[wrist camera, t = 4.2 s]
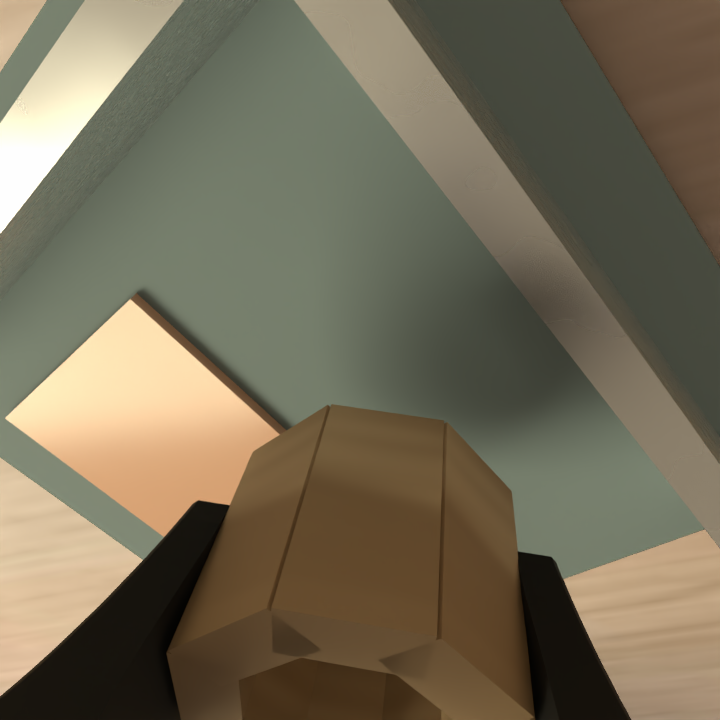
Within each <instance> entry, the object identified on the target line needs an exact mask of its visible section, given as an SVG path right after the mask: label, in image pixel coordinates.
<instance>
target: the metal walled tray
mask: <svg viewBox="0 0 720 720" xmlns="http://www.w3.org/2000/svg"><path fill="white" fill-rule="evenodd" d="M259 1H260V0H85V1H84V2H83V4H82V5H81V7H80V8H79V9H78V11H77V12H76V14H75V15H74V17H73V18H72V20H71V21H70V23H69V24H68V25H67V27H66V28H65V30H64V31H63V33H62V34H61V36H60V37H59V39H58V40H57V41H56V43H55V44H54V46H53V47H52V49H51V50H50V52H49V53H48V55H47V56H46V57H45V59H44V60H43V62H42V63H41V65H40V66H39V68H38V69H37V71H36V72H35V73H34V75H33V76H32V78H31V79H30V81H29V82H28V84H27V85H26V87H25V88H24V89H23V91H22V92H21V94H20V95H19V97H18V98H17V100H16V101H15V103H14V104H13V105H12V107H11V108H10V110H9V111H8V113H7V114H6V116H5V117H4V119H3V120H2V121H1V123H0V300H1V299H2V298H3V296H4V295H5V294H6V293H7V292H8V291H9V289H10V288H11V287H12V286H13V285H14V284H15V283H16V281H17V280H18V279H19V278H20V277H21V276H22V274H23V273H24V272H25V271H26V270H27V269H28V268H29V266H30V265H31V264H32V263H33V262H34V261H35V259H36V258H37V257H38V256H39V255H40V254H41V252H42V251H43V250H44V249H45V248H46V247H47V246H48V244H49V243H50V242H51V241H52V240H53V239H54V237H55V236H56V235H57V234H58V233H59V232H60V231H61V229H62V228H63V227H64V226H65V225H66V224H67V222H68V221H69V220H70V219H71V218H72V217H73V216H74V214H75V213H76V212H77V211H78V210H79V209H80V207H81V206H82V205H83V204H84V203H85V202H86V200H87V199H88V198H89V197H90V196H91V195H92V194H93V192H94V191H95V190H96V189H97V188H98V187H99V185H100V184H101V183H102V182H103V181H104V180H105V179H106V177H107V176H108V175H109V174H110V173H111V172H112V170H113V169H114V168H115V167H116V166H117V165H118V164H119V162H120V161H121V160H122V159H123V158H124V157H125V155H126V154H127V153H128V152H129V151H130V150H131V148H132V147H133V146H134V145H135V144H136V143H137V142H138V140H139V139H140V138H141V137H142V136H143V135H144V133H145V132H146V131H147V130H148V129H149V128H150V127H151V125H152V124H153V123H154V122H155V121H156V120H157V118H158V117H159V116H160V115H161V114H162V113H163V111H164V110H165V109H166V108H167V107H168V106H169V105H170V103H171V102H172V101H173V100H174V99H175V98H176V96H177V95H178V94H179V93H180V92H181V91H182V90H183V88H184V87H185V86H186V85H187V84H188V83H189V81H190V80H191V79H192V78H193V77H194V76H195V75H196V73H197V72H198V71H199V70H200V69H201V68H202V66H203V65H204V64H205V63H206V62H207V61H208V59H209V58H210V57H211V56H212V55H213V54H214V53H215V51H216V50H217V49H218V48H219V47H220V46H221V44H222V43H223V42H224V41H225V40H226V39H227V38H228V36H229V35H230V34H231V33H232V32H233V31H234V29H235V28H236V27H237V26H238V25H239V24H240V23H241V21H242V20H243V19H244V18H245V17H246V16H247V14H248V13H249V12H250V11H251V10H252V9H253V7H254V6H255V5H256V4H257V3H258V2H259ZM294 1H295V2H296V3H297V5H298V6H299V7H300V8H301V10H302V11H303V12H304V14H305V15H306V16H307V17H308V19H309V20H310V21H311V23H312V24H313V25H314V26H315V28H316V29H317V30H318V32H319V33H320V34H321V36H322V37H323V38H324V39H325V41H326V42H327V43H328V45H329V46H330V47H331V48H332V50H333V51H334V52H335V54H336V55H337V56H338V57H339V59H340V60H341V61H342V63H343V64H344V65H345V66H346V68H347V69H348V70H349V72H350V73H351V74H352V75H353V77H354V78H355V79H356V81H357V82H358V83H359V84H360V86H361V87H362V88H363V90H364V91H365V92H366V93H367V95H368V96H369V97H370V99H371V100H372V101H373V102H374V104H375V105H376V106H377V108H378V109H379V110H380V111H381V113H382V114H383V115H384V117H385V118H386V119H387V120H388V122H389V123H390V124H391V126H392V127H393V128H394V129H395V131H396V132H397V133H398V135H399V136H400V137H401V138H402V140H403V141H404V142H405V144H406V145H407V146H408V148H409V149H410V150H411V151H412V153H413V154H414V155H415V157H416V158H417V159H418V160H419V162H420V163H421V164H422V166H423V167H424V168H425V169H426V171H427V172H428V173H429V175H430V176H431V177H432V178H433V180H434V181H435V182H436V184H437V185H438V186H439V187H440V189H441V190H442V191H443V193H444V194H445V195H446V196H447V198H448V199H449V200H450V202H451V203H452V204H453V205H454V207H455V208H456V209H457V211H458V212H459V213H460V214H461V216H462V217H463V218H464V220H465V221H466V222H467V223H468V225H469V226H470V227H471V229H472V230H473V231H474V232H475V234H476V235H477V236H478V238H479V239H480V240H481V241H482V243H483V244H484V245H485V247H486V248H487V249H488V251H489V252H490V253H491V254H492V256H493V257H494V258H495V260H496V261H497V262H498V263H499V265H500V266H501V267H502V269H503V270H504V271H505V272H506V274H507V275H508V276H509V278H510V279H511V280H512V281H513V283H514V284H515V285H516V287H517V288H518V289H519V290H520V292H521V293H522V294H523V296H524V297H525V298H526V299H527V301H528V302H529V303H530V305H531V306H532V307H533V308H534V310H535V311H536V312H537V314H538V315H539V316H540V317H541V319H542V320H543V321H544V323H545V324H546V325H547V326H548V328H549V329H550V330H551V332H552V333H553V334H554V335H555V337H556V338H557V339H558V341H559V342H560V343H561V344H562V346H563V347H564V348H565V350H566V351H567V352H568V353H569V355H570V356H571V357H572V359H573V360H574V361H575V363H576V364H577V365H578V366H579V368H580V369H581V370H582V372H583V373H584V374H585V375H586V377H587V378H588V379H589V381H590V382H591V383H592V384H593V386H594V387H595V388H596V390H597V391H598V392H599V393H600V395H601V396H602V397H603V399H604V400H605V401H606V402H607V404H608V405H609V406H610V408H611V409H612V410H613V411H614V413H615V414H616V415H617V417H618V418H619V419H620V420H621V422H622V423H623V424H624V426H625V427H626V428H627V429H628V431H629V432H630V433H631V435H632V436H633V437H634V438H635V440H636V441H637V442H638V444H639V445H640V446H641V447H642V449H643V450H644V451H645V453H646V454H647V455H648V456H649V458H650V459H651V460H652V462H653V463H654V464H655V466H656V467H657V468H658V469H659V471H660V472H661V473H662V475H663V476H664V477H665V478H666V480H667V481H668V482H669V484H670V485H671V486H672V487H673V489H674V490H675V491H676V493H677V494H678V495H679V496H680V498H681V499H682V500H683V502H684V503H685V504H686V505H687V507H688V508H689V509H690V511H691V512H692V513H693V514H694V516H695V517H696V518H697V520H698V521H699V522H700V523H701V525H702V526H703V527H704V529H705V530H706V531H707V532H708V534H709V535H710V536H711V538H712V539H713V540H714V541H715V543H716V544H717V545H718V547H719V548H720V437H719V435H718V434H717V432H716V431H715V430H714V428H713V427H712V425H711V424H710V422H709V421H708V419H707V418H706V417H705V415H704V414H703V412H702V411H701V409H700V408H699V407H698V405H697V404H696V402H695V401H694V399H693V398H692V397H691V395H690V394H689V392H688V391H687V389H686V388H685V386H684V385H683V384H682V382H681V381H680V379H679V378H678V376H677V375H676V374H675V372H674V371H673V369H672V368H671V366H670V365H669V363H668V362H667V361H666V359H665V358H664V356H663V355H662V353H661V352H660V351H659V349H658V348H657V346H656V345H655V343H654V342H653V341H652V339H651V338H650V336H649V335H648V333H647V332H646V330H645V329H644V328H643V326H642V325H641V323H640V322H639V320H638V319H637V318H636V316H635V315H634V313H633V312H632V310H631V309H630V307H629V306H628V305H627V303H626V302H625V300H624V299H623V297H622V296H621V295H620V293H619V292H618V290H617V289H616V287H615V286H614V284H613V283H612V282H611V280H610V279H609V277H608V276H607V274H606V273H605V272H604V270H603V269H602V267H601V266H600V264H599V263H598V262H597V260H596V259H595V257H594V256H593V254H592V253H591V251H590V250H589V249H588V247H587V246H586V244H585V243H584V241H583V240H582V239H581V237H580V236H579V234H578V233H577V231H576V230H575V228H574V227H573V226H572V224H571V223H570V221H569V220H568V218H567V217H566V216H565V214H564V213H563V211H562V210H561V208H560V207H559V205H558V204H557V203H556V201H555V200H554V198H553V197H552V195H551V194H550V193H549V191H548V190H547V188H546V187H545V185H544V184H543V183H542V181H541V180H540V178H539V177H538V175H537V174H536V172H535V171H534V170H533V168H532V167H531V165H530V164H529V162H528V161H527V160H526V158H525V157H524V155H523V154H522V152H521V151H520V149H519V148H518V147H517V145H516V144H515V142H514V141H513V139H512V138H511V137H510V135H509V134H508V132H507V131H506V129H505V128H504V126H503V125H502V124H501V122H500V121H499V119H498V118H497V116H496V115H495V114H494V112H493V111H492V109H491V108H490V106H489V105H488V104H487V102H486V101H485V99H484V98H483V96H482V95H481V93H480V92H479V91H478V89H477V88H476V86H475V85H474V83H473V82H472V81H471V79H470V78H469V76H468V75H467V73H466V72H465V70H464V69H463V68H462V66H461V65H460V63H459V62H458V60H457V59H456V58H455V56H454V55H453V53H452V52H451V50H450V49H449V47H448V46H447V45H446V43H445V42H444V40H443V39H442V37H441V36H440V35H439V33H438V32H437V30H436V29H435V27H434V26H433V25H432V23H431V22H430V20H429V19H428V17H427V16H426V14H425V13H424V12H423V10H422V9H421V7H420V6H419V4H418V3H417V2H416V0H294Z"/></svg>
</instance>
